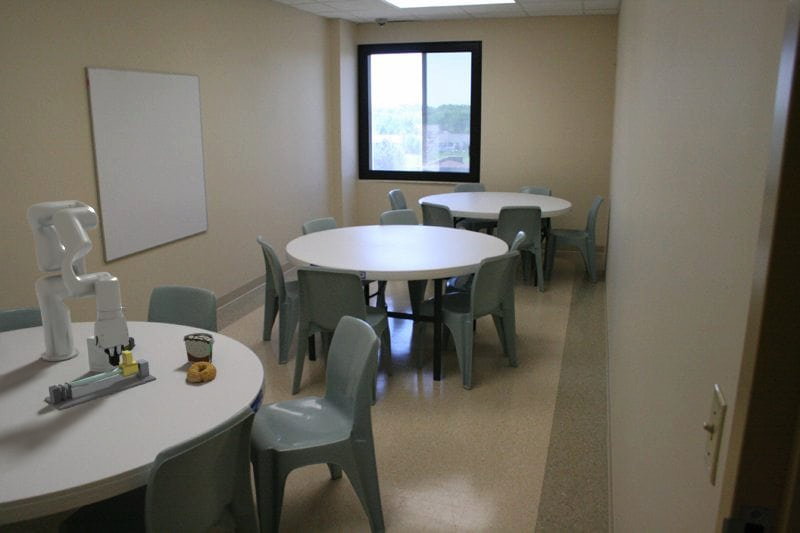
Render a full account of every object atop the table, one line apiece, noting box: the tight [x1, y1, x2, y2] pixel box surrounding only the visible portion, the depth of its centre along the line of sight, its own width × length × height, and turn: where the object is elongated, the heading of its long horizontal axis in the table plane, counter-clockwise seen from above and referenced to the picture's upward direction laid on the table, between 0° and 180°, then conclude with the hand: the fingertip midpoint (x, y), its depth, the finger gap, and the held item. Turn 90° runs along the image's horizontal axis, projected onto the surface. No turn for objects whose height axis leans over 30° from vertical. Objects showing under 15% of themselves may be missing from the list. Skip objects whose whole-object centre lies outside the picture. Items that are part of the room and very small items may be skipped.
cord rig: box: [44, 358, 157, 411], centre depth 214 cm, size 12×32×6 cm, turn 140°
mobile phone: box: [119, 336, 136, 355], centre depth 247 cm, size 5×3×15 cm
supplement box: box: [86, 334, 118, 373], centre depth 230 cm, size 7×7×13 cm
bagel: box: [186, 362, 218, 383], centre depth 224 cm, size 10×11×5 cm
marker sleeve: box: [117, 350, 139, 377], centre depth 220 cm, size 4×5×8 cm
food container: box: [183, 332, 215, 364], centre depth 239 cm, size 12×6×10 cm, turn 71°
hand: (114, 365), depth 216 cm, fingers closed
